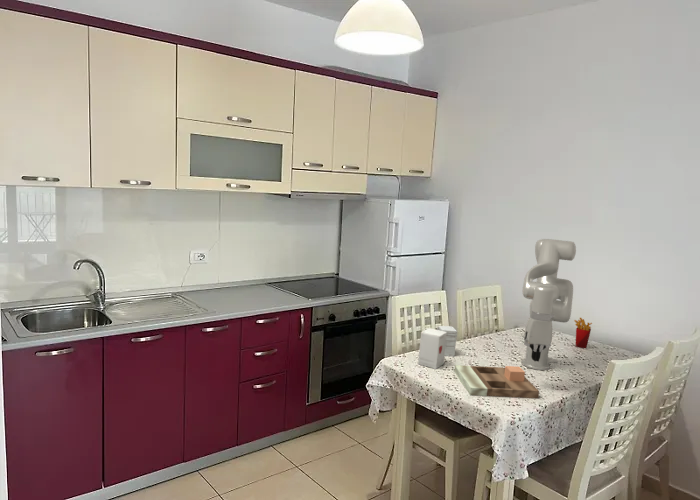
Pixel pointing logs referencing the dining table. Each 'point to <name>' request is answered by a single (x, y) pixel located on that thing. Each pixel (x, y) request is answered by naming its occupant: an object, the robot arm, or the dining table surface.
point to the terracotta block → (514, 373)
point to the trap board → (493, 382)
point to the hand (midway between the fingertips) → (535, 360)
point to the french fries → (582, 333)
